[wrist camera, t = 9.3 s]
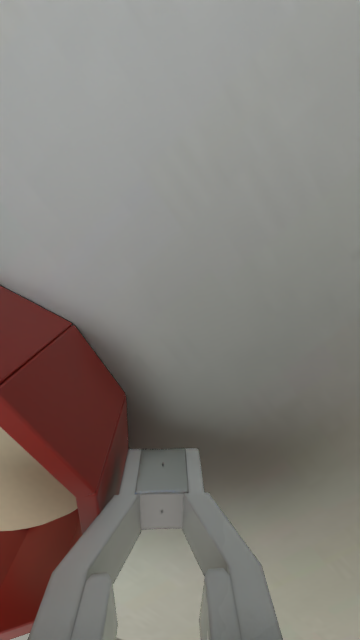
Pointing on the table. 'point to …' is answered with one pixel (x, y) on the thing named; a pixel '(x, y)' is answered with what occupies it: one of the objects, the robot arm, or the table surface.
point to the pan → (50, 450)
